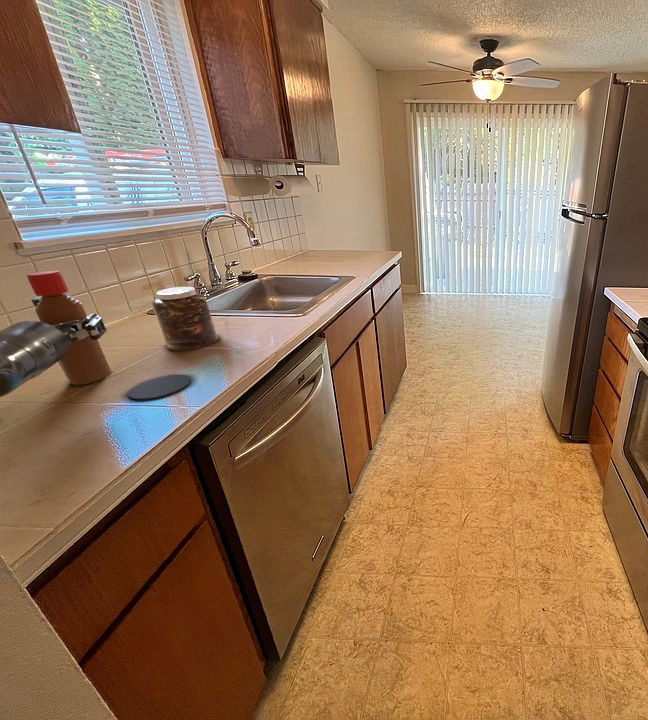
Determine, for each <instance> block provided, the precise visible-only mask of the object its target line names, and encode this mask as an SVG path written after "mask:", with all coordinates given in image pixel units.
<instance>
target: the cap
mask: <svg viewBox="0 0 648 720" xmlns="http://www.w3.org/2000/svg"><path fill="white" fill-rule="evenodd" d="M26 277H27V280H28V282H29V284H30V287H31V288H32V291H33V292H34V295H35V297H38V296H51V295H57V294H62V293H65V294H67V293H68V292H69V289H68V286H67V284H66V281H65V280H64V276H63V275H62V274H61V271H60V270H45V271H37V272H30V273H27V274H26Z"/></svg>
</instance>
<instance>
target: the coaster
mask: <svg viewBox="0 0 648 720" xmlns="http://www.w3.org/2000/svg"><path fill="white" fill-rule="evenodd" d="M191 383H192V379H191V377H190V376H188V375H185V374H171V375H164V376H159V377H155V378H151V379H148V380H146V381H143V382H141V383H139V384H137V385H135V386H133V387H132V388H131V389H130V390H129V391H128V393H127V394H128V398H129V399H130V400H133V401H153V400H159V399H161V398H166V397H169V396H171V395H174V394H177V393H178V392H181V391H182V390H185V389H186V388H188V386H190V385H191Z"/></svg>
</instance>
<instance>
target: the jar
mask: <svg viewBox="0 0 648 720" xmlns="http://www.w3.org/2000/svg"><path fill="white" fill-rule="evenodd" d="M156 296H157V298H156V299H155V300H153V301H152V307H153V308H152V309H153V311H154V314H155V317H156V320H157V322H158V325H159V328H160V331H161V334H162V337H163V339H164V342H165V345H166V347H167V349H169V350H171V351H190V350H191V351H192V350H195V349H196V350H197V349H200V348H204V347H207V346H209V345H212V344H214V343H216V342H217V341H218V339H219V337H218V334H217V331H216V328H215V324H214V321H213V318H212V314H211V312H210V309H209V305H208V302H207V300H206V298H205V297H206V296H204V294H201V293H198V292H197V291H196V288H195V287H193V286H176V287H169V288H164V289H160V290H157V291H156Z"/></svg>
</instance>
